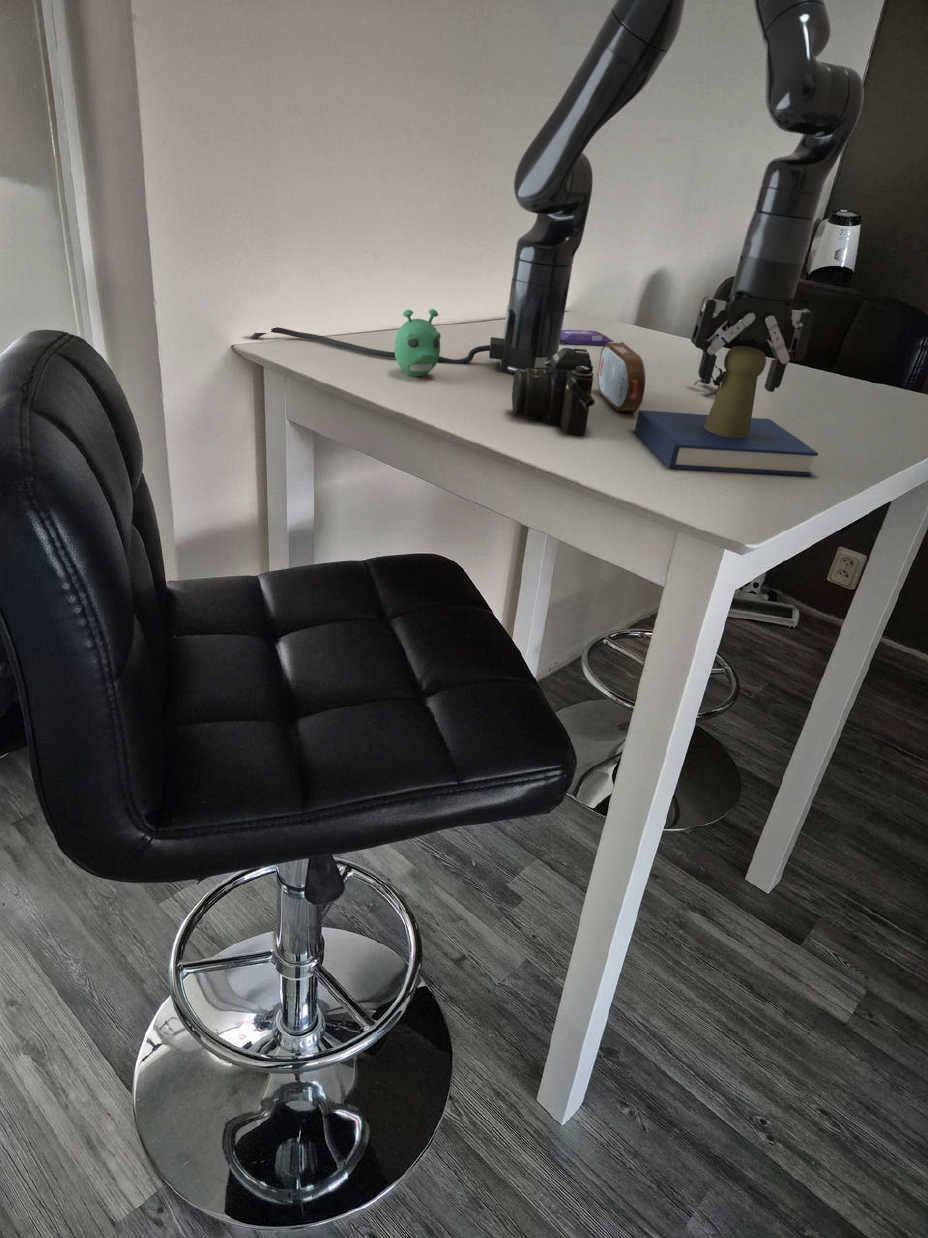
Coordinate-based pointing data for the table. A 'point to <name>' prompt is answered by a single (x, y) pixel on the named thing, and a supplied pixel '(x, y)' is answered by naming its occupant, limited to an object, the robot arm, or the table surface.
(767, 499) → the table surface
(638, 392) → the tin
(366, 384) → the table surface
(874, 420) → the table surface
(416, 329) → the alien toy
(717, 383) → the creature
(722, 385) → the cork
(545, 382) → the film camera
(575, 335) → the snack package
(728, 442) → the book
